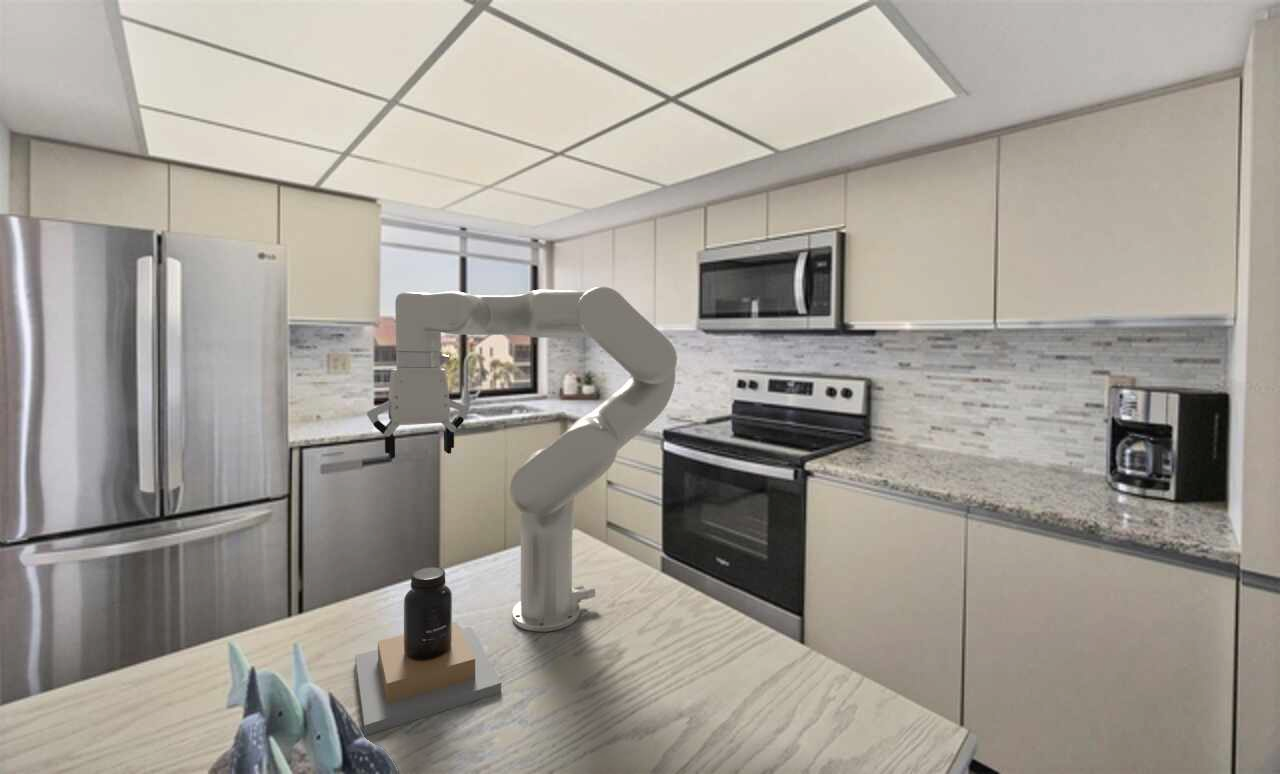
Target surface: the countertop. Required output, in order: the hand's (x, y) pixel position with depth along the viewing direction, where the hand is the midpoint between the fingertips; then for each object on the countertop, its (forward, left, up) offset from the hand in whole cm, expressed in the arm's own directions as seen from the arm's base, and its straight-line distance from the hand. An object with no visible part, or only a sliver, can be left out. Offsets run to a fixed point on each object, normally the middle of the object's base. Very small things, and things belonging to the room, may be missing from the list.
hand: (420, 454), depth 100 cm
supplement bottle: (+2, +21, -26) cm, 34 cm away
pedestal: (+3, +21, -30) cm, 37 cm away
